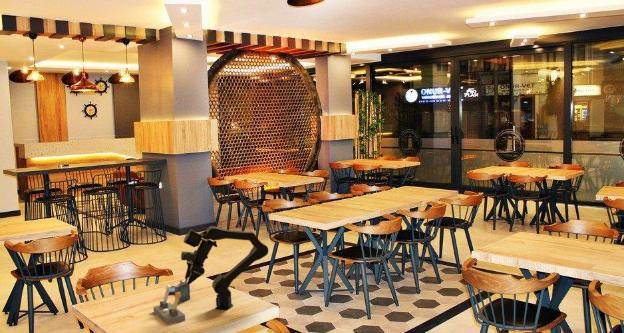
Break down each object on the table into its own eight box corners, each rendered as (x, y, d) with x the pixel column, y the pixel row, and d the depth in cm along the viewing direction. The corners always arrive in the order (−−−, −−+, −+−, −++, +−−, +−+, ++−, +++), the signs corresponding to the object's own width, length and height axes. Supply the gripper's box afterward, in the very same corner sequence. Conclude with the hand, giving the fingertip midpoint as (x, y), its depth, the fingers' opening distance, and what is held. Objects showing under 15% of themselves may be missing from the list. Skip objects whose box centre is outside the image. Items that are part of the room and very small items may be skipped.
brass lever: (176, 315, 251) (182, 293, 252) (171, 314, 249) (177, 292, 250) (174, 313, 253) (180, 291, 254) (169, 312, 251) (175, 291, 252)
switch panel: (185, 320, 251) (184, 310, 250) (168, 324, 246) (167, 314, 246) (170, 307, 267) (169, 298, 267) (153, 311, 263) (153, 302, 263)
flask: (177, 304, 272) (176, 283, 271) (173, 303, 273) (172, 282, 272) (191, 298, 279) (190, 278, 278) (187, 298, 281) (186, 277, 280)
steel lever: (166, 307, 262) (172, 286, 262) (161, 306, 260) (167, 285, 261) (165, 305, 264) (170, 284, 265) (159, 305, 262) (165, 284, 263)
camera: (170, 288, 299) (169, 274, 298) (190, 286, 300) (189, 273, 299) (166, 295, 286) (165, 281, 286) (187, 294, 287) (186, 280, 287)
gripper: (185, 240, 266) (169, 269, 264) (190, 248, 248) (173, 280, 247) (205, 249, 269) (190, 278, 268) (212, 258, 252) (195, 289, 250)
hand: (186, 281), depth 258 cm, fingers open, 9 cm apart
